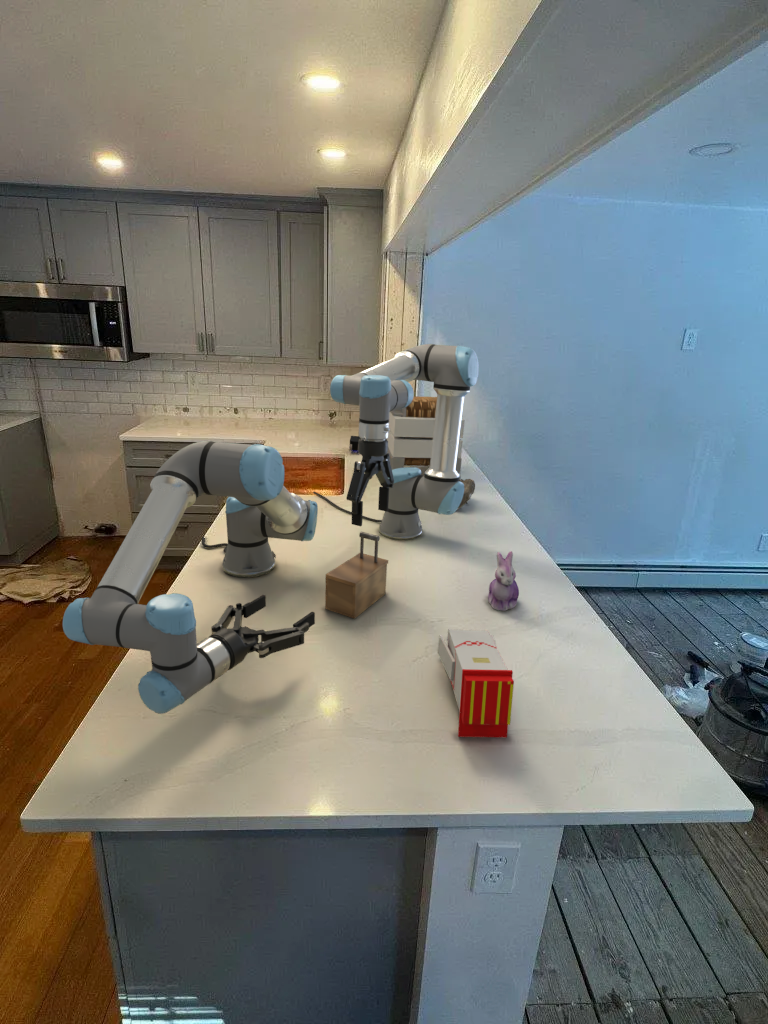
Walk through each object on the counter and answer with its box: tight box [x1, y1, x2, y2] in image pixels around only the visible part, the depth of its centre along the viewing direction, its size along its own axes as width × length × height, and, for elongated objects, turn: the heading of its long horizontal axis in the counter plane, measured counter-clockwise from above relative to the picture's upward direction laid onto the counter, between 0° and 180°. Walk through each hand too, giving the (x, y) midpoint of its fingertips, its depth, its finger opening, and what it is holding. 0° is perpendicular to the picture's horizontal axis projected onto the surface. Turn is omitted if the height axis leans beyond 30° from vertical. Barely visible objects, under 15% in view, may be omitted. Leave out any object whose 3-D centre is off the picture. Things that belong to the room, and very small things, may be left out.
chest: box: [324, 564, 388, 620], centre depth 151 cm, size 16×9×9 cm, turn 150°
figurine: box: [487, 550, 520, 612], centre depth 153 cm, size 9×10×15 cm
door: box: [325, 531, 389, 587], centre depth 149 cm, size 17×9×9 cm, turn 150°
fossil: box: [457, 478, 476, 510], centre depth 232 cm, size 22×10×15 cm
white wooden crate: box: [386, 395, 465, 480], centre depth 268 cm, size 34×33×41 cm
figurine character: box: [348, 435, 360, 455], centre depth 309 cm, size 7×8×15 cm
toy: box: [437, 628, 515, 738], centre depth 117 cm, size 12×13×30 cm
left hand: (288, 608), depth 125 cm, fingers open, 13 cm apart
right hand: (370, 517), depth 150 cm, fingers open, 13 cm apart
